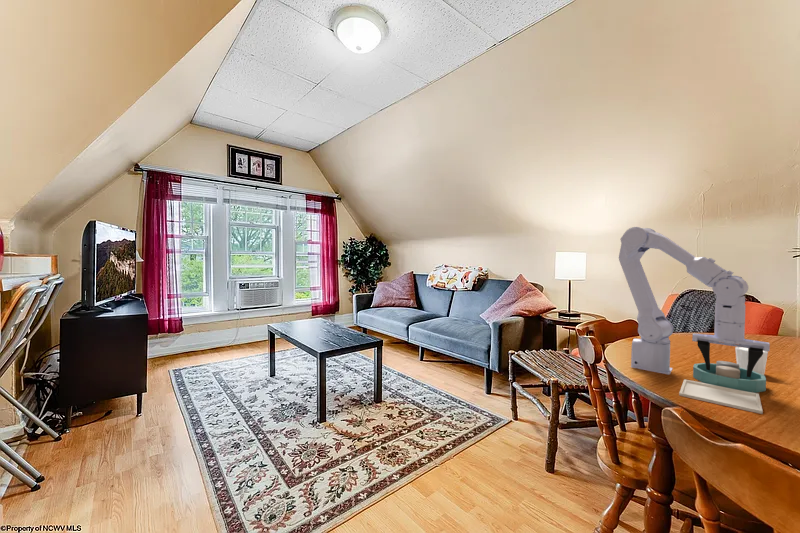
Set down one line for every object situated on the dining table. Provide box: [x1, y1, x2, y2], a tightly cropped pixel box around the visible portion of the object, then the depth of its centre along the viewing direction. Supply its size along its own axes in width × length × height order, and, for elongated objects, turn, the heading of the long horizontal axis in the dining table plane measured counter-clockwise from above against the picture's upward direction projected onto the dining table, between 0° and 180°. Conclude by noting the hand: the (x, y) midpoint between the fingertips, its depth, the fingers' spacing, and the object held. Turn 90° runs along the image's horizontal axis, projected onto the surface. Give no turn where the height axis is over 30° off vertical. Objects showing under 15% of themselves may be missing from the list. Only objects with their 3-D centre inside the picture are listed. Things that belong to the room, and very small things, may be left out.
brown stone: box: [716, 366, 740, 379], centre depth 90 cm, size 5×5×4 cm
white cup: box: [734, 346, 769, 376], centre depth 101 cm, size 7×7×7 cm
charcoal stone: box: [715, 360, 739, 369], centre depth 94 cm, size 5×5×4 cm
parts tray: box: [678, 378, 764, 415], centre depth 83 cm, size 14×13×1 cm
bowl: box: [692, 362, 767, 394], centre depth 92 cm, size 14×14×4 cm
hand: (727, 372), depth 90 cm, fingers open, 7 cm apart
